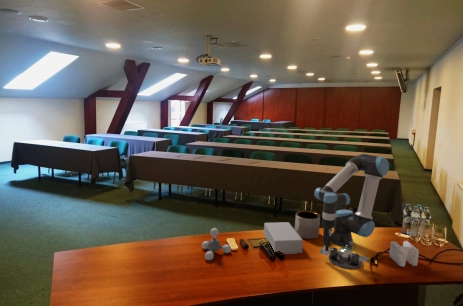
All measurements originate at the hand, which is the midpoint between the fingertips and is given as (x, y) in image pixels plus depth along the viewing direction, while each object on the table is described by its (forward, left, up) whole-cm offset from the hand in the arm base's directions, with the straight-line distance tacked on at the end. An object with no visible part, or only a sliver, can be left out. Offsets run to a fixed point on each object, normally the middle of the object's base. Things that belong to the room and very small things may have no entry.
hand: (325, 254), depth 198 cm
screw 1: (-2, +22, -4) cm, 23 cm away
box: (-33, -9, -6) cm, 34 cm away
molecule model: (-41, -58, -6) cm, 72 cm away
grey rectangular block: (-2, +4, -4) cm, 6 cm away
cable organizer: (+21, +45, -6) cm, 50 cm away
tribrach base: (+4, +13, -5) cm, 15 cm away
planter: (-37, +17, -6) cm, 42 cm away
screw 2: (+13, +15, -4) cm, 21 cm away
